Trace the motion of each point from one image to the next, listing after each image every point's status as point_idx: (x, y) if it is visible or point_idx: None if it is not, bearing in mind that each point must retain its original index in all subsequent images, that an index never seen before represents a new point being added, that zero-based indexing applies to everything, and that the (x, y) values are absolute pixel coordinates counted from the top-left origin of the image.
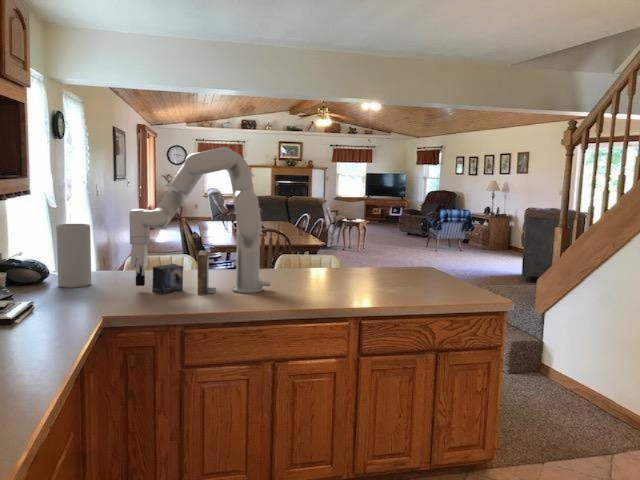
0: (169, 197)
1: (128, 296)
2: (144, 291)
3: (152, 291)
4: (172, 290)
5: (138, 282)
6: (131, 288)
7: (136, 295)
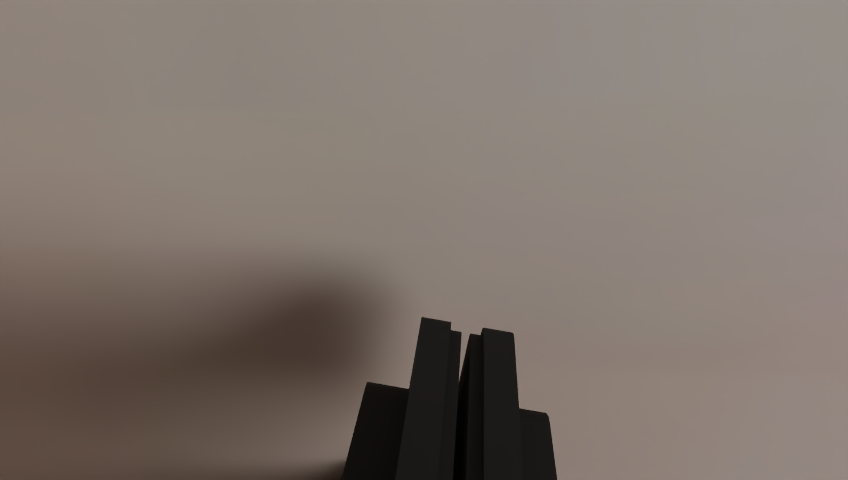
0: None
1: (68, 121)
2: None
3: None
4: None
5: (359, 413)
6: (789, 160)
7: (153, 250)
